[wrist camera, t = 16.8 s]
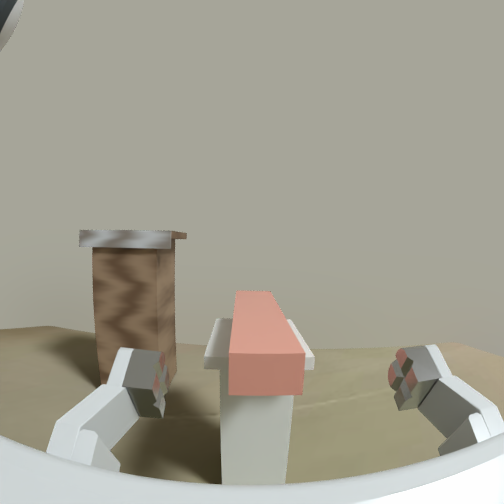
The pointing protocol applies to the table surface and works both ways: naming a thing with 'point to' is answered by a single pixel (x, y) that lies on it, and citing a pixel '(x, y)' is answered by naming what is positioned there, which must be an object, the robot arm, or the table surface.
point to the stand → (251, 420)
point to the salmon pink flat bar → (263, 349)
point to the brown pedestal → (133, 293)
